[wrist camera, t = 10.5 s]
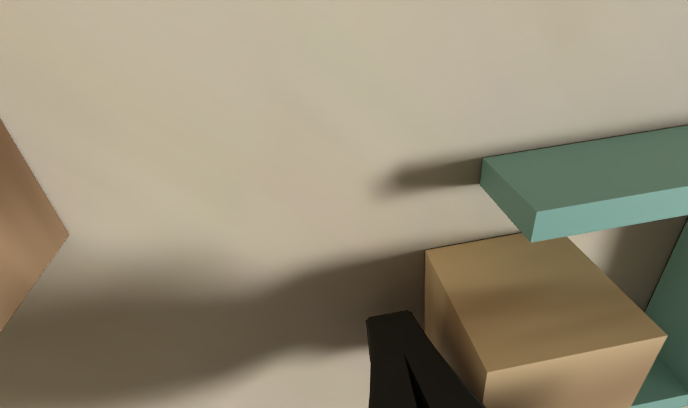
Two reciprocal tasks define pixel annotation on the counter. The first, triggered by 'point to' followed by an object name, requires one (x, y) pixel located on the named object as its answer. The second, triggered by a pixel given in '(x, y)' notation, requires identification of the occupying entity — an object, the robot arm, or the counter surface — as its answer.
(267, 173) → the counter surface
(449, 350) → the oak block
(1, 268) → the bored block
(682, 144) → the u-shaped bracket
